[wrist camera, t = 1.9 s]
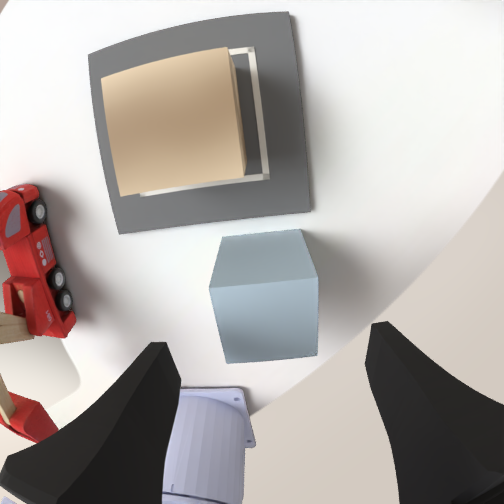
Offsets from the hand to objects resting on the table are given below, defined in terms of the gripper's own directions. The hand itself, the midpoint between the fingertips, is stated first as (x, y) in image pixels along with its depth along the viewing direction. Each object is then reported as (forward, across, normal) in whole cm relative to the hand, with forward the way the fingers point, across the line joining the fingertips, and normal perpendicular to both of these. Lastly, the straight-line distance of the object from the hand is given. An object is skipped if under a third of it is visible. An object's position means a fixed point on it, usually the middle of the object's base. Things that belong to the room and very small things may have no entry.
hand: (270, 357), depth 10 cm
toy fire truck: (+7, +14, 0) cm, 16 cm away
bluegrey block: (+7, 0, 0) cm, 7 cm away
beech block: (+6, +2, -8) cm, 10 cm away
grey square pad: (+7, +2, -8) cm, 11 cm away
